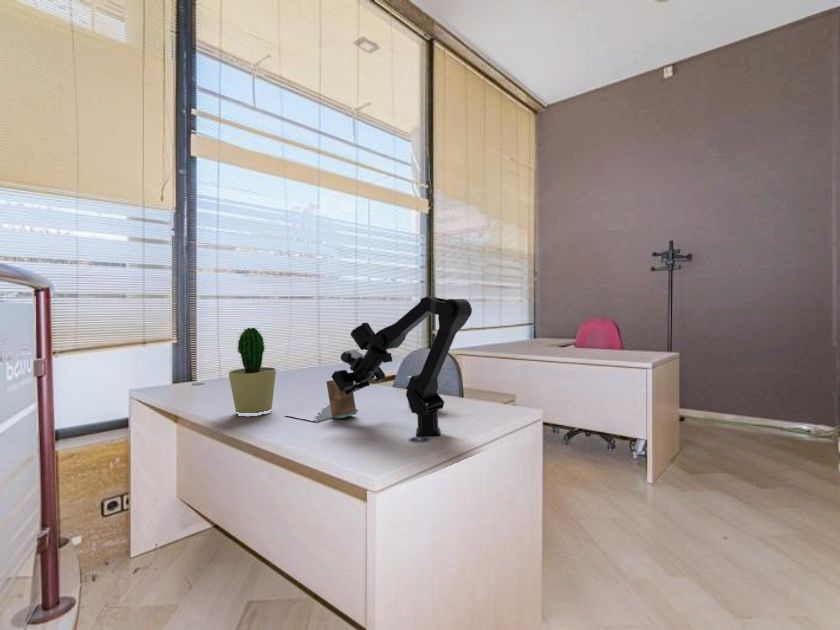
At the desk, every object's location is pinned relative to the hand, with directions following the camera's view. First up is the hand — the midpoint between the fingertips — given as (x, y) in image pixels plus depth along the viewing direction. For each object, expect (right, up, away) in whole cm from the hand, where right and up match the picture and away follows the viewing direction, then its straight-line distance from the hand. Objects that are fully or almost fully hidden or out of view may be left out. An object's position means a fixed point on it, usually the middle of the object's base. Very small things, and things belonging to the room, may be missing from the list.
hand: (346, 393), depth 143 cm
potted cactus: (-33, -9, +11) cm, 36 cm away
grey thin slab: (-10, -8, +8) cm, 15 cm away
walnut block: (-1, -7, +1) cm, 8 cm away
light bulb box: (+25, -7, +11) cm, 28 cm away
